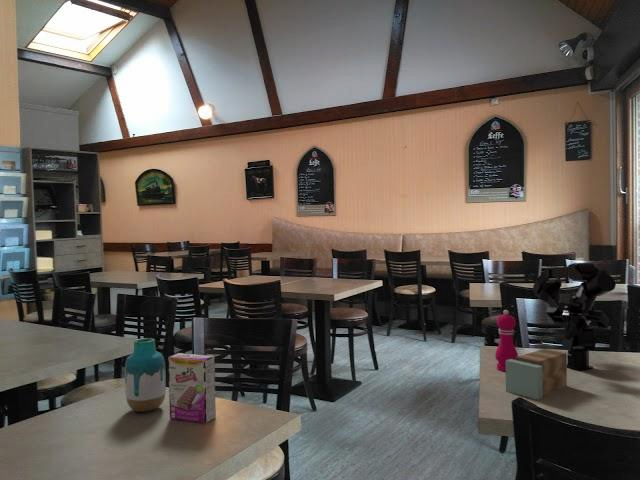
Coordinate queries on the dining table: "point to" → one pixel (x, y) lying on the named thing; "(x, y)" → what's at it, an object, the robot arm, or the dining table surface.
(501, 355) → the pepper mill
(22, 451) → the dining table surface
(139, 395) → the vase
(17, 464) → the dining table surface
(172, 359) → the candy bar box
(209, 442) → the dining table surface
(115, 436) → the dining table surface
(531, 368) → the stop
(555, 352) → the wooden block
